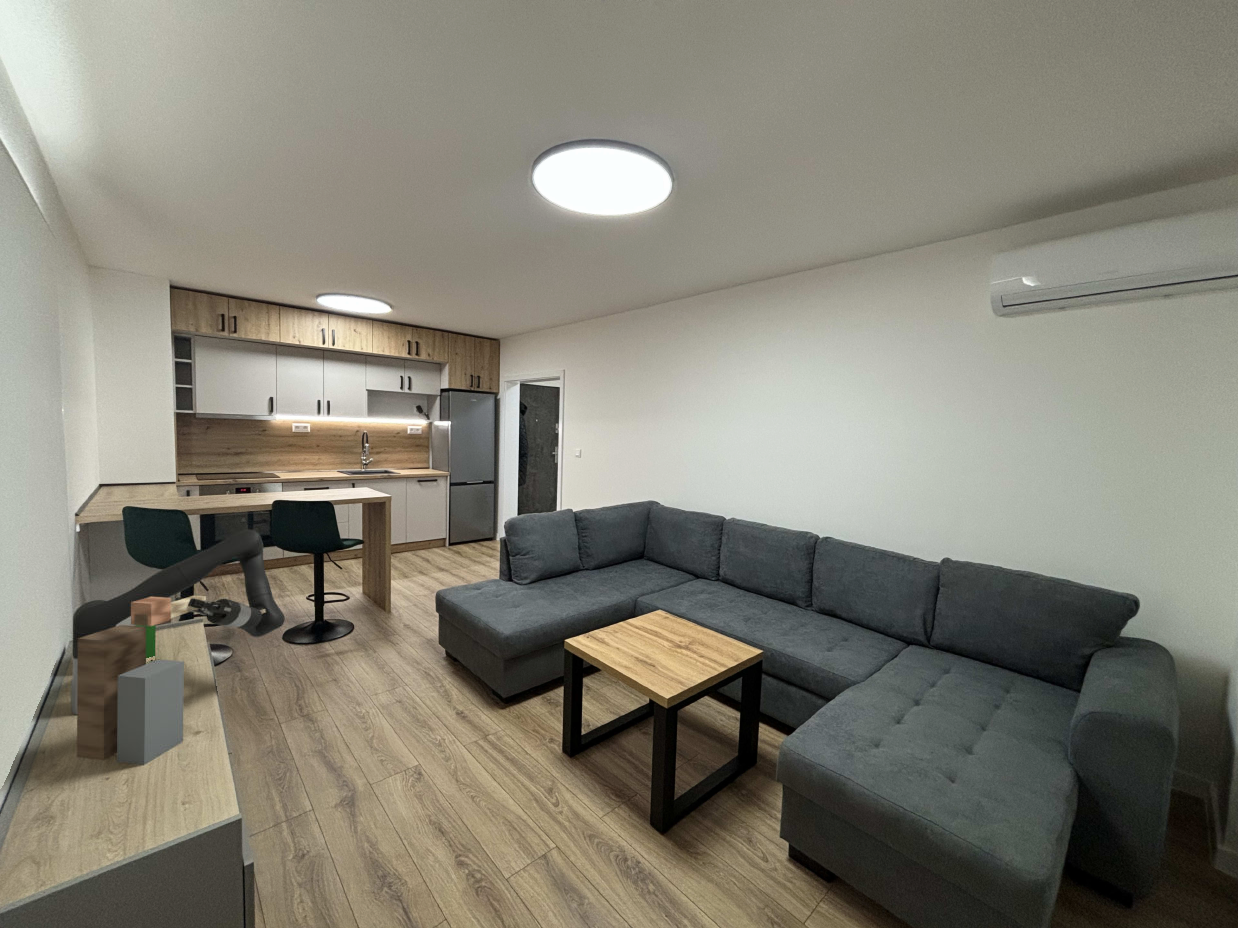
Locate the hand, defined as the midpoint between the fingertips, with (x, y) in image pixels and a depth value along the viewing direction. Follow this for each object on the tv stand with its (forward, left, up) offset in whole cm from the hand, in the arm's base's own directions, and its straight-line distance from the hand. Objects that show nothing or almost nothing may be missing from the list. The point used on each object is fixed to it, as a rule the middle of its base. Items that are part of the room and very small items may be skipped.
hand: (183, 601), depth 137 cm
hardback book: (-66, +29, -39) cm, 82 cm away
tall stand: (-11, -9, -39) cm, 41 cm away
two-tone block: (0, -3, -3) cm, 4 cm away
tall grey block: (+1, -8, -39) cm, 40 cm away
